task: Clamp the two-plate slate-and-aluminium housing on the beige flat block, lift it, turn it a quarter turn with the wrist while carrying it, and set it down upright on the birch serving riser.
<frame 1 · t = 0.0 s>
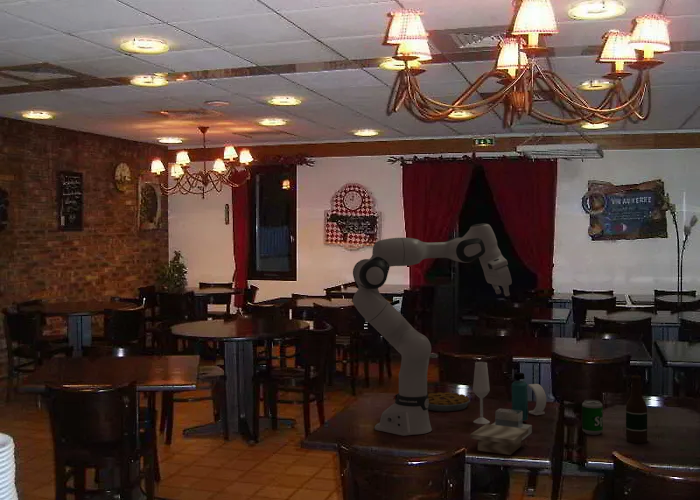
hand: (503, 294, 313), 52 cm above the table, tool tilted 20°, fingers open, 8 cm apart
beer bottle: (636, 441, 289), on the table
pie: (444, 407, 347), on the table
soda can: (592, 433, 301), on the table
headphone stand: (537, 414, 331), on the table
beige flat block: (509, 434, 300), on the table
champagne flute: (481, 422, 320), on the table
housing: (509, 426, 300), point 3 cm above the table, touching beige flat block
beverage bottle: (519, 422, 318), on the table
serving riser: (499, 448, 282), on the table
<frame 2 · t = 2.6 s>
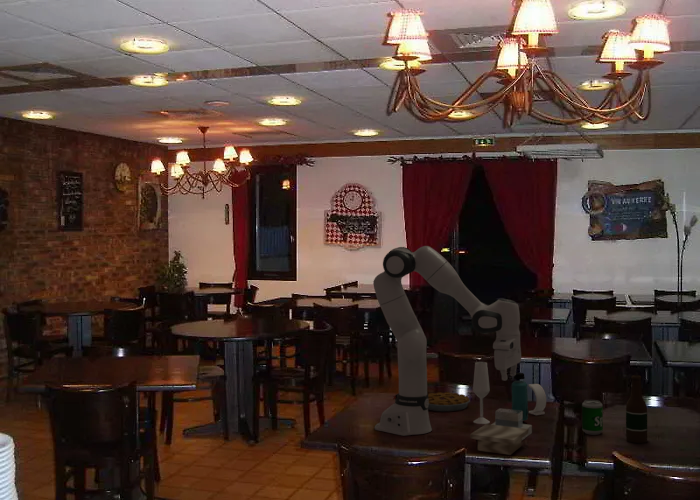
hand: (508, 377, 299), 22 cm above the table, tool pointing down, fingers open, 8 cm apart
nothing on the table moved.
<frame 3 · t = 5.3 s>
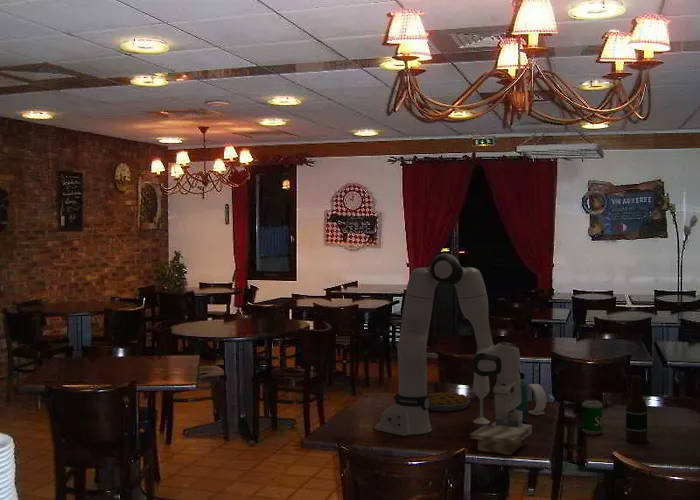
hand: (508, 421, 300), 5 cm above the table, tool pointing down, fingers closed on housing, 5 cm apart
housing: (509, 426, 300), point 3 cm above the table, touching gripper, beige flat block
everything else where it was.
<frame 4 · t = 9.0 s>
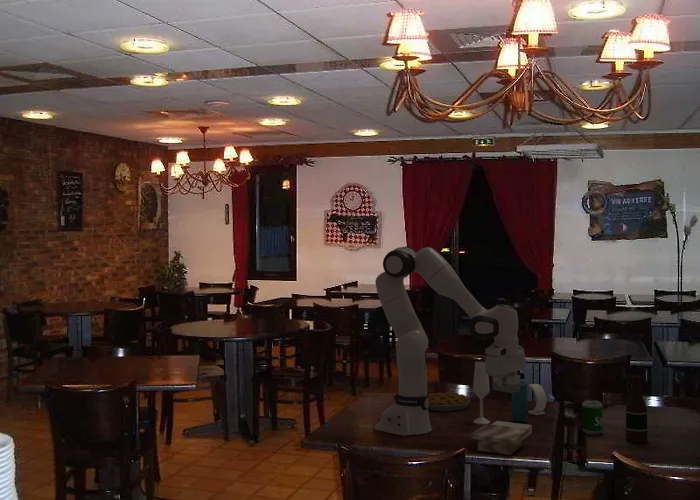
hand: (506, 384, 295), 20 cm above the table, tool pointing down, fingers closed on housing, 5 cm apart
housing: (506, 390, 296), point 18 cm above the table, touching gripper
everything else where it was.
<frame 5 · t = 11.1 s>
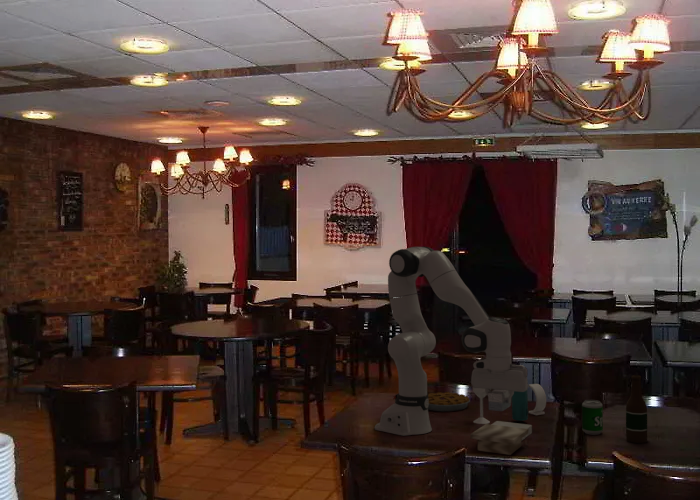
hand: (499, 402, 282), 17 cm above the table, tool pointing down, fingers closed on housing, 5 cm apart
housing: (499, 407, 282), point 15 cm above the table, touching gripper
everything else where it was.
when the fingers open (10 cm above the table, at t = 12.8 s): housing drops 1 cm, resting on serving riser.
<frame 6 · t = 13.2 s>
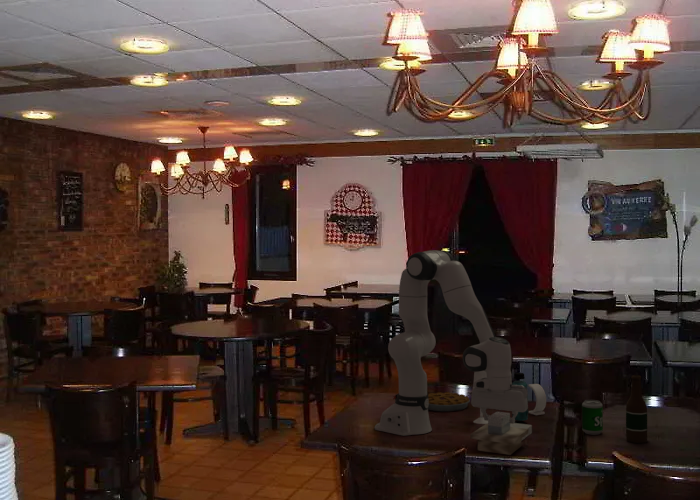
hand: (499, 421, 282), 10 cm above the table, tool pointing down, fingers open, 8 cm apart
housing: (499, 431, 282), point 6 cm above the table, touching serving riser
everything else where it was.
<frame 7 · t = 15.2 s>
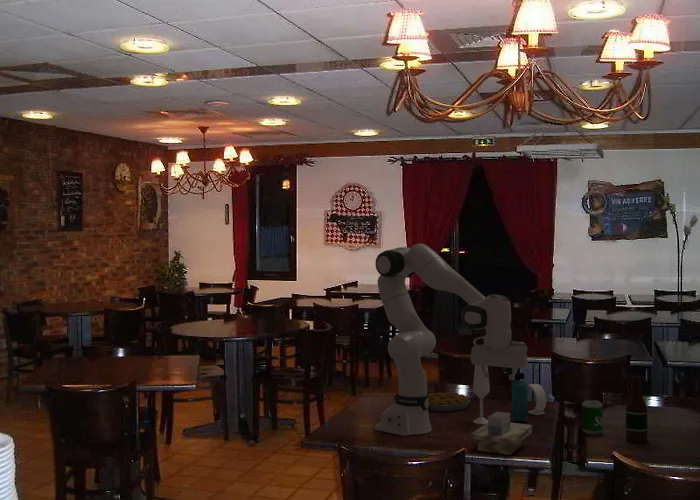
hand: (499, 378, 281), 25 cm above the table, tool pointing down, fingers open, 8 cm apart
nothing on the table moved.
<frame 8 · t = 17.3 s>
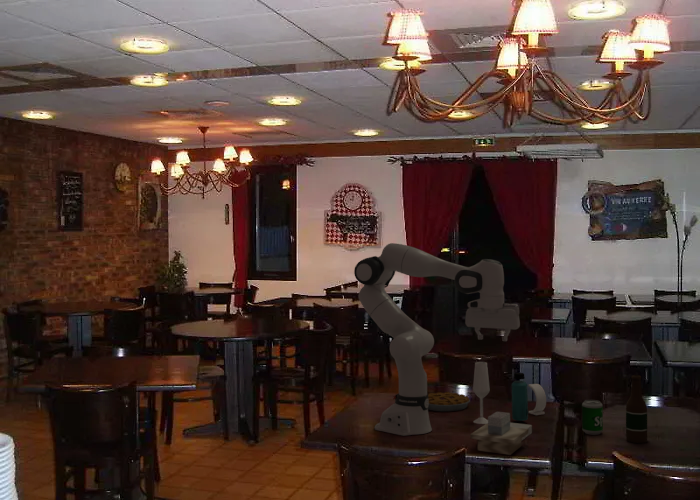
hand: (492, 340, 293), 37 cm above the table, tool pointing down, fingers open, 8 cm apart
nothing on the table moved.
at the end: housing inside the target area on the serving riser (0.1 cm from its centre), point 6.0 cm above the serving riser's base; housing tilted 0°; the gripper is holding nothing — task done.
